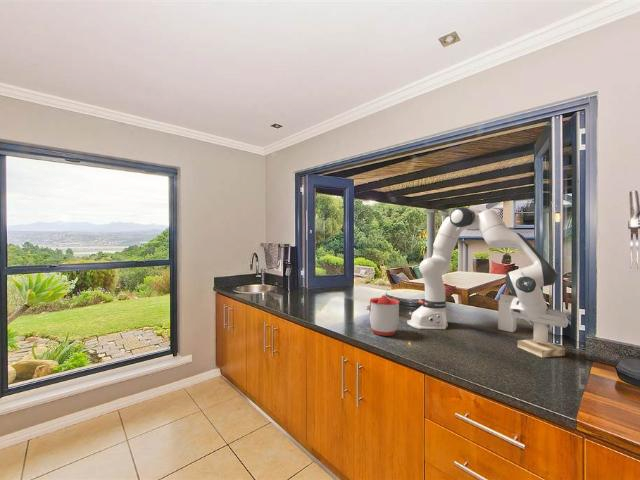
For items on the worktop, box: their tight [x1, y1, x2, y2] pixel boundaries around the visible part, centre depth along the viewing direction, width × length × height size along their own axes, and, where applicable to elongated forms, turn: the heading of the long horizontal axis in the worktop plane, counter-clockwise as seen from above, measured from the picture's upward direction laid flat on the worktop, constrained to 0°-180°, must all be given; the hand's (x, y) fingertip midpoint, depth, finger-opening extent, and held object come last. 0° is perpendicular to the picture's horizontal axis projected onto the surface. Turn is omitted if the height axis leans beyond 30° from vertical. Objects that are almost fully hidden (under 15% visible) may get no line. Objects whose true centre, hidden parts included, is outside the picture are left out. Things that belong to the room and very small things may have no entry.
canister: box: [532, 322, 549, 343], centre depth 130 cm, size 6×6×13 cm
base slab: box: [517, 338, 566, 359], centre depth 130 cm, size 12×12×3 cm
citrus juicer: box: [365, 294, 400, 337], centre depth 153 cm, size 16×17×20 cm
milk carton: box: [497, 293, 518, 333], centre depth 159 cm, size 7×7×19 cm
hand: (541, 325), depth 130 cm, fingers closed on canister, 5 cm apart
